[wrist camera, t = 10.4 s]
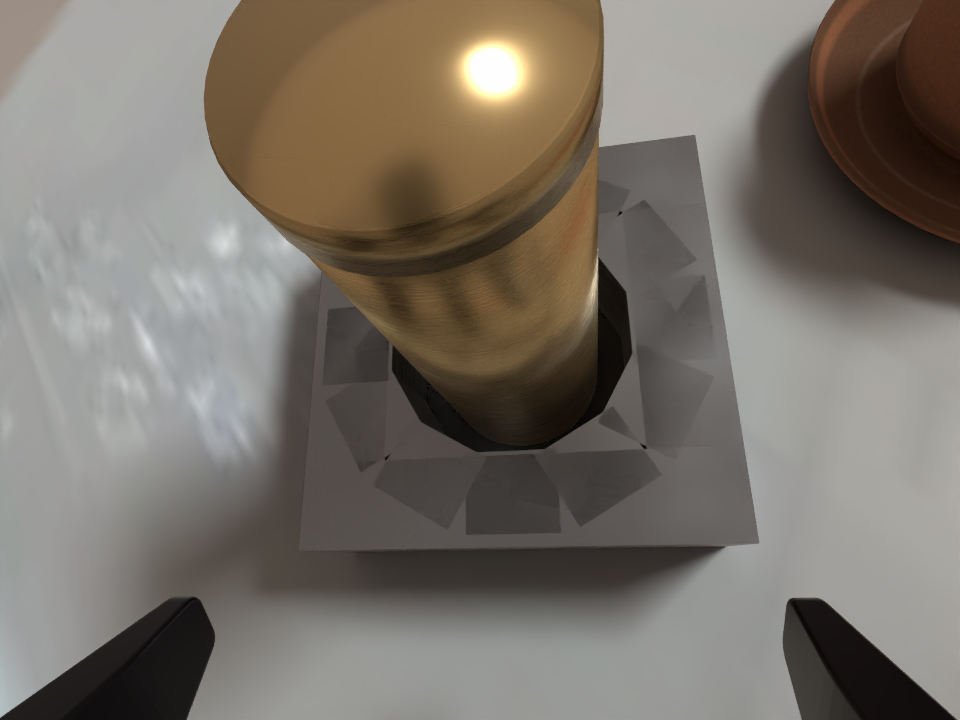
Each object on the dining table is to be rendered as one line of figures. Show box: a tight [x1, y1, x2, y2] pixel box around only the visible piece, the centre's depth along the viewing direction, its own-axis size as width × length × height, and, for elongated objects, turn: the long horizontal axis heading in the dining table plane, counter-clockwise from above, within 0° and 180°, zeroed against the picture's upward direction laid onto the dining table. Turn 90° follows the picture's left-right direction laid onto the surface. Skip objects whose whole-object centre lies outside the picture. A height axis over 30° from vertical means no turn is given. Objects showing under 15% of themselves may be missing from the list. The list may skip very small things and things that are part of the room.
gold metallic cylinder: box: [204, 0, 604, 446], centre depth 13 cm, size 5×5×13 cm
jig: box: [298, 135, 759, 552], centre depth 17 cm, size 11×11×4 cm
